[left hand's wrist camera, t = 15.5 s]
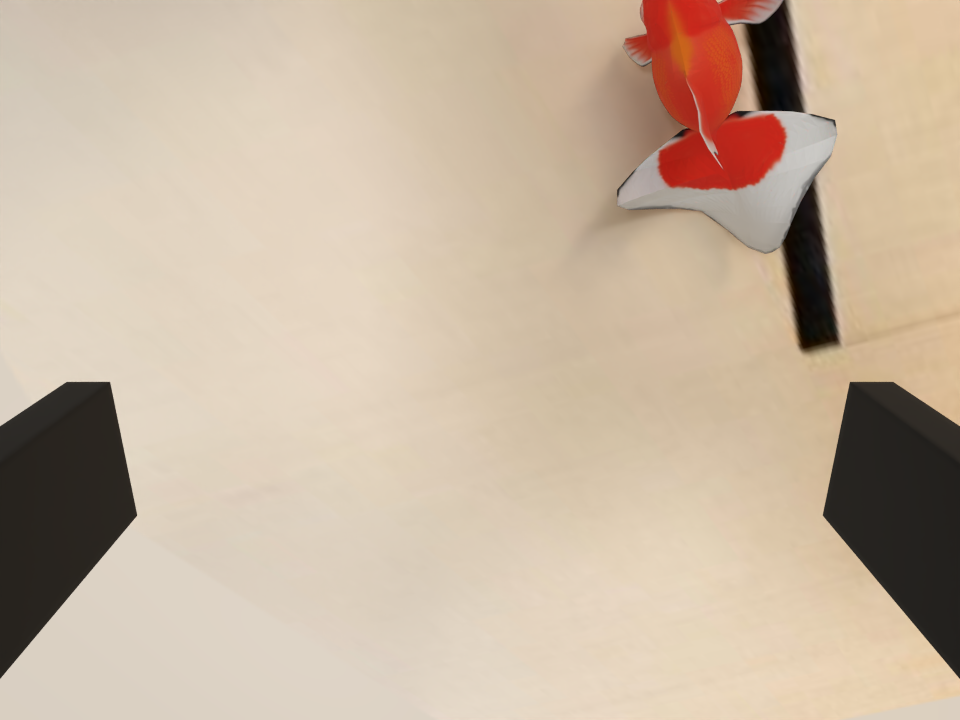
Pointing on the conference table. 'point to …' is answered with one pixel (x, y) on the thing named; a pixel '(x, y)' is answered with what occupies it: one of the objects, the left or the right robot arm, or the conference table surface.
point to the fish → (721, 126)
